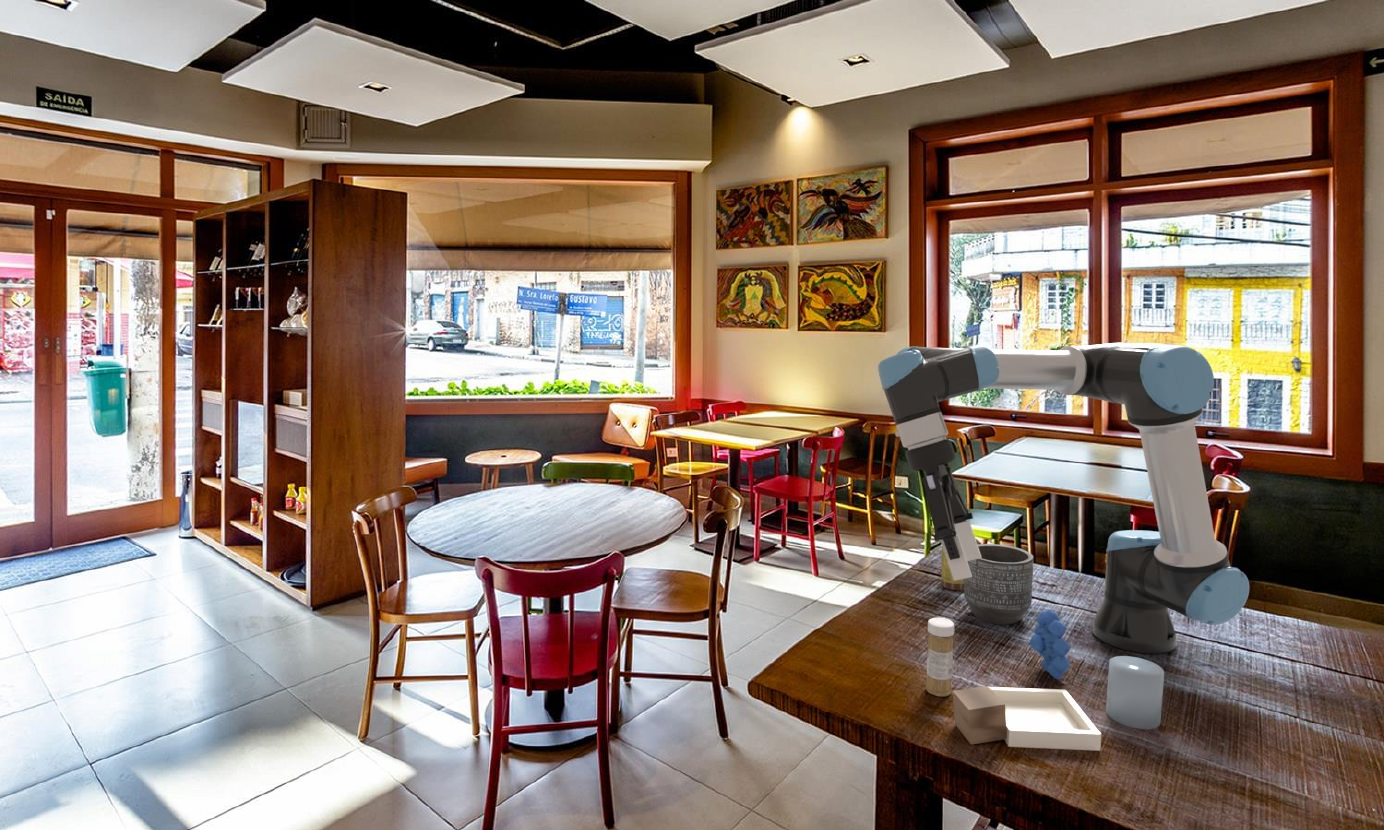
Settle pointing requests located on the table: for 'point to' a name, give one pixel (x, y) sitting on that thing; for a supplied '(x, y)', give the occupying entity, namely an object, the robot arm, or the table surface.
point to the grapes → (1051, 643)
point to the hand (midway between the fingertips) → (968, 568)
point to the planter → (1000, 584)
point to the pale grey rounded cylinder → (1135, 692)
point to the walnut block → (979, 715)
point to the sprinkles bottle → (940, 656)
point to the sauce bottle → (949, 576)
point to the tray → (1046, 720)
